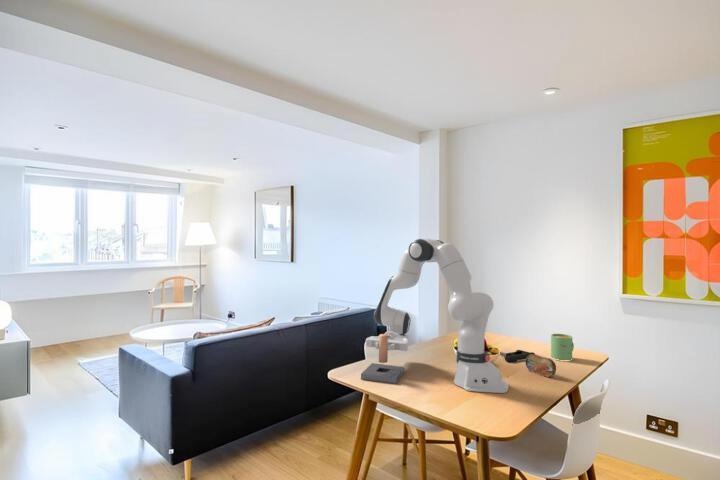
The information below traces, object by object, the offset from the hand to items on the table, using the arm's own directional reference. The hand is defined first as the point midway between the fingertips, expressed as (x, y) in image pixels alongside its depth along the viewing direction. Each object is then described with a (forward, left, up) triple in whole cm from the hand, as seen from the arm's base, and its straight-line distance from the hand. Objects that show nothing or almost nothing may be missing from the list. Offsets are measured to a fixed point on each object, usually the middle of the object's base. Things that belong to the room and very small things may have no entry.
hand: (382, 347), depth 179 cm
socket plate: (0, -1, -13) cm, 13 cm away
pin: (0, -1, -6) cm, 7 cm away
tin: (-68, -30, -13) cm, 76 cm away
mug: (-82, -61, -13) cm, 103 cm away
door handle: (-57, -54, -13) cm, 79 cm away
